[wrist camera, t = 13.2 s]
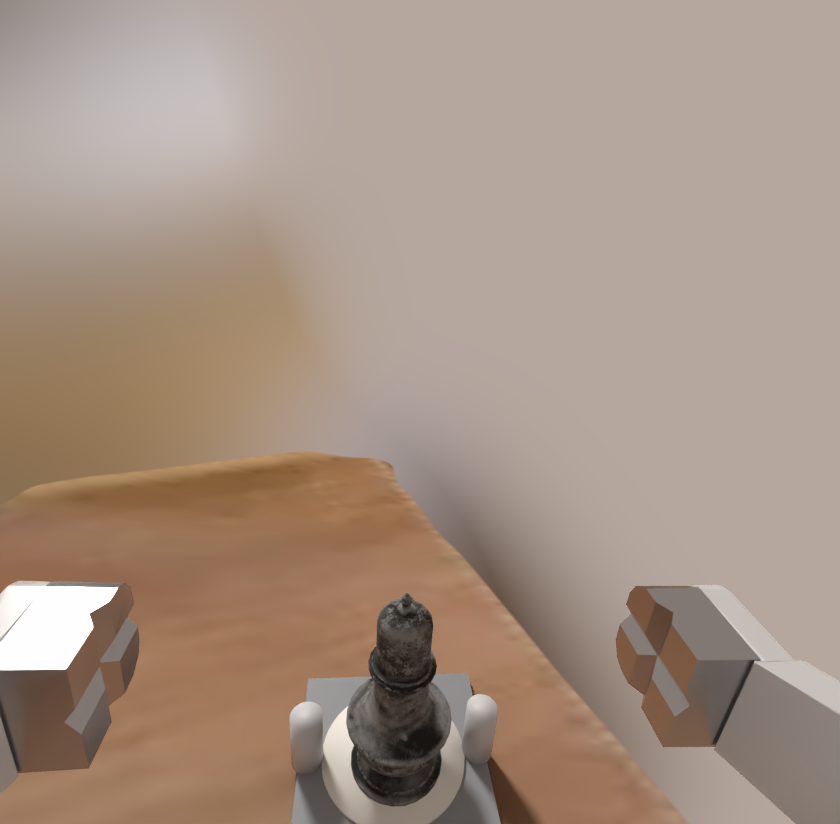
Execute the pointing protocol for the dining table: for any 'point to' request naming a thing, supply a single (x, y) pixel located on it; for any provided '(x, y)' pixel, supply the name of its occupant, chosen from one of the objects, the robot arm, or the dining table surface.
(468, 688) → the pin socket board
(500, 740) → the dining table surface
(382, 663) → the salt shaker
